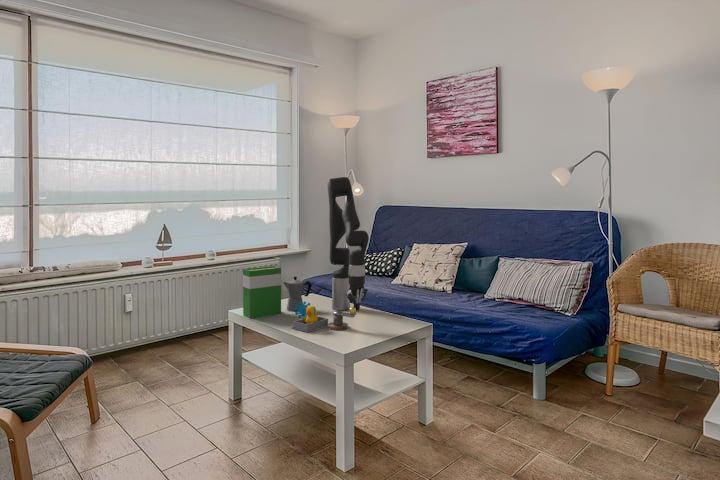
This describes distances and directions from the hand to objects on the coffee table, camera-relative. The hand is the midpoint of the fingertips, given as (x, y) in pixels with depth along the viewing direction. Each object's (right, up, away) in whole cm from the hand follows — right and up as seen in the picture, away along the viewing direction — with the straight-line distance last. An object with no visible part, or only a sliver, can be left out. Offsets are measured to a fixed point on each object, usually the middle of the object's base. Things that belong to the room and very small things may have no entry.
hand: (356, 310), depth 222 cm
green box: (-49, -6, +24) cm, 54 cm away
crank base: (-9, -8, +2) cm, 12 cm away
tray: (-21, -8, +2) cm, 23 cm away
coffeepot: (-32, -5, +35) cm, 48 cm away
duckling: (-21, -8, +2) cm, 23 cm away
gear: (-26, -7, +20) cm, 33 cm away
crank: (-6, -2, 0) cm, 6 cm away
